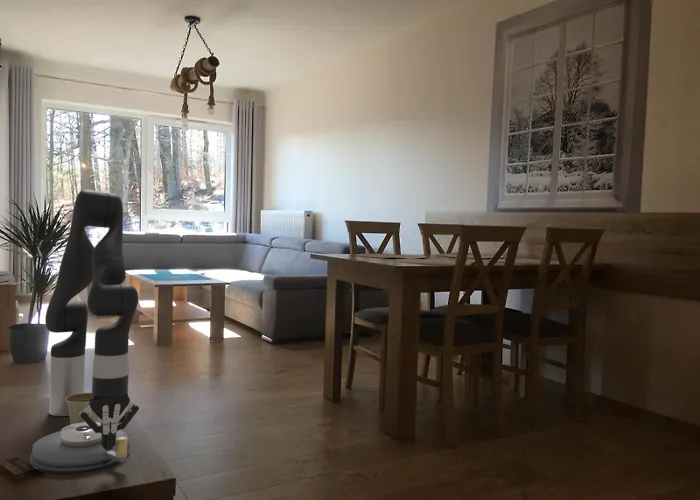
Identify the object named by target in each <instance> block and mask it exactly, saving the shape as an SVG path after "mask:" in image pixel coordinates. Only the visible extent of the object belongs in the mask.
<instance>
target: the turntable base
mask: <svg viewBox="0 0 700 500" xmlns="http://www.w3.org/2000/svg"><path fill="white" fill-rule="evenodd" d="M130 448H131V447H130V443H129V442H128V447H127V457H128V455H129V454H130V451H131V449H130ZM118 463H119V462H118V461H116V460H113V459H110V460H107V461H104V462H100V463H96V464H91V465H85V466H77V467H53V466H46V465H42V464H40V463H37V462H36V461H34V460H33V458H32V452H31V453H30V455H29V465H30V464H31V465H32V466H34V467H36V468H38V469H39V470H40V471H39V472H40V473H41V472H42V473H45V474H50V475H51V474H52V475H72V474H73V475H74V474H75V475H76V474H83V473H90V472H93V471H94V472H95V471H98V470H103V469H107V468H109V467H112V466H114V465H116V464H118ZM31 465H30V466H31Z"/></svg>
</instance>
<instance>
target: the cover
mask: <svg viewBox="0 0 700 500" xmlns="http://www.w3.org/2000/svg"><path fill="white" fill-rule="evenodd" d="M95 423H96V424H97V425H99V426H101V422H98V421H96V422H95ZM60 431H61V445H62V446H63V447H66V448H87V447H92V446H96V445H99V444H101V435H102V434H101V433H95V432H94V431H93V430H92V429H91V427H90V426H89V425H88V424H87V423H86V422H82V423H75V424H68V425H66V426H64V427H63V428H61V430H60Z"/></svg>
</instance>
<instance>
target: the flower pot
mask: <svg viewBox="0 0 700 500" xmlns="http://www.w3.org/2000/svg"><path fill="white" fill-rule="evenodd" d="M91 398H92V392H84V393H78V394H73V395H70V396H68V397H66V398H65V401H66V402H67V406H68V409H69V417H68V418H69V423H70V424H69V425H71V424H75V423H82V422H85V421H84V420H83V419H82V418H81V416H80V415H79V411H80V410H84V409H85V408H86V407H88V406H89V402H90V400H91ZM91 413H92V416H91V418H92V420H93V421H94V422H98V421H97V419H98V416H97V415H96V414H95V412H94V411H93V410H91Z"/></svg>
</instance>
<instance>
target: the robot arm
mask: <svg viewBox="0 0 700 500" xmlns="http://www.w3.org/2000/svg"><path fill="white" fill-rule="evenodd" d="M123 222H124V208H123V202H122V198H121V196H119V194H116V193H112V192H106V191H99V190H92V189H82V190H80V191H79V192H78V194H77V195H76V198H75V202H74V205H73V211H72V218H71V223H70V229H69V233H68V238H67V241H66V245H65V248H64V252H63V255H62V258H61V262H60V266H59V270H58V275H57V279H56V283H55V286H54V289H53V293H52V295H51V297H50V301H49V303H48V305H47V308H46V312H45V327H46V329H47V330H48V331H49V332H50V333H54V334H56V333H58V334H59V333H60V334H61V333H71V334H70V335H69V336H68V337H67V338H66V339H63V340H61V341H59V342H57V343H55V344H53V345H52V346H51V348H50V374H49V377H50V378H49V400H48V401H49V406H48V414H49V415H51V416H54V417H66V416H67V417H68V416H69V409H68V406H67V402H66V401H65V398H66V397H68V396H70V395H73V394H78V393H85V376H86V375H85V372H86V371H85V369H86V367H85V366H86V364H85V362H86V346H87V331H88V320H89V318H88V317H89V312H90V313H91V315H94V316H95V317H117V316H118V319H117V321H116V322H115V323H112V324H107V325H104V326H100V327H99V328H97V329H96V330H95V335H94V355H93V361H92V378H91V379H92V380H91V381H92V382H91V384H92V386H91V393H92V398H91V400H90V402H89V406H88V407H86V408H85V409H84V410H80V411H79V415H80V416H81V418H82V419H83V420H84V421H85V422H86V423H87V424H88V425H89V426H90V427H91V429H92V430H93V431H94V432H95V433H101V434H102V435H101V445H102V447H103V448H104V449H105V450H112V449H113V447H115V445H116V433H117V431H118V430H121V431H122V430H124V429H125V428H126V427H127V425H128V424H129V423H130V422H131V420H132V419H133V418H134V417H135V415H136V414H137V413H138V411H139V410H140V407H139V406H138V405H137V404H136V403H135V402H132V401H131V399H130V396H129V376H130V375H129V373H130V359H129V340H130V337H129V336H130V330H131V327H132V326H131V325H132V322H133V319H134V316H135V313H136V311H137V308H138V304H139V297H140V296H139V293H138V290H137V289H136V288H135V286H133V285H131V284H123V283H124V281H125V280H126V278H127V277H126V275H127V272H126V268H125V260H124V255H123V253H124V252H123V238H124V235H123V234H124V223H123ZM86 227H94V228H104V229H105V228H107V229H108V231H107V232H106V233H105V235H104V236H103V237H102V238H101V239H100V240H99V241H98V243H97V244H96V245H95V246H94V245H93V243H92V242H91V240H90V238H89V236H88V233H87V232H86ZM90 285H91V286H90ZM88 286H90V290H89V293H88V296H87V302H85V301H83V300H73V298H74V297H75V296H78V295H79V294H80V293H81V292H83V291H84V290H85V289H86V288H88ZM88 311H89V312H88ZM91 410H93V411H94V412H95V414H96V415H97V418H99V423H101V426H99V425H97V424H96V423H95V422H94V421H93V420H92V418H91V416H92V413H91ZM125 410H126V411H125ZM123 412H124V414H123ZM122 414H123V415H122ZM121 415H122V417H121V418H120V416H121ZM119 418H120V419H119Z"/></svg>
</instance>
